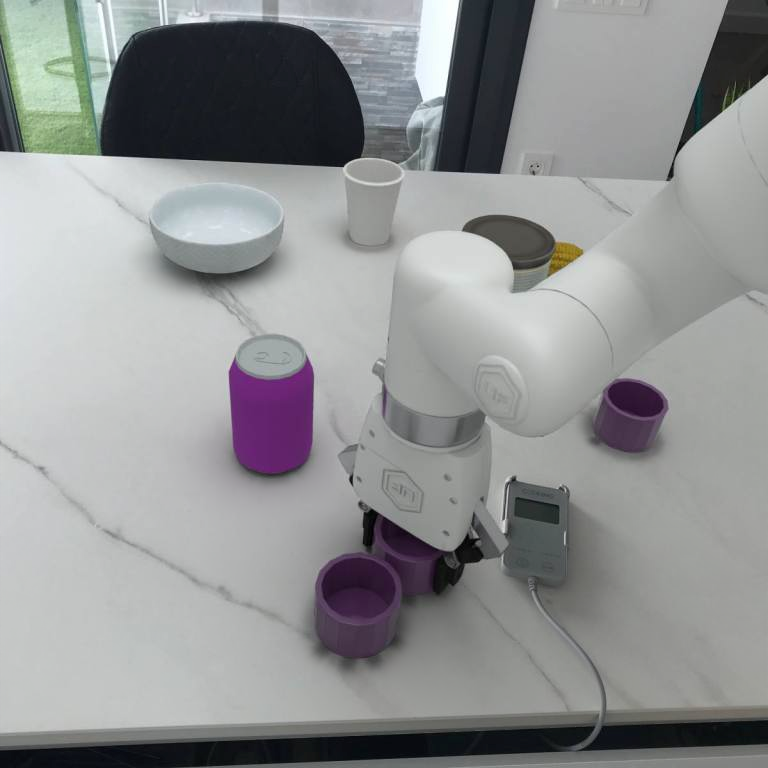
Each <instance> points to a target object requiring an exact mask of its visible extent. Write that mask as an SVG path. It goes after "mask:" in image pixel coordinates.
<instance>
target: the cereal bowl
mask: <svg viewBox="0 0 768 768" xmlns="http://www.w3.org/2000/svg"><path fill="white" fill-rule="evenodd" d="M148 221H149V222H148V223H149V226H150V227H149V228H150V231H151V235H152V238H153V240H154V242H155V244H156V246H157V248H158V249H159V250H160V252H162V253H163V255H164V256H165V257H166V258H168V259H169V260H171V261H172V262H174V263H175V264H177V265H179V266H180V267H184V268H185V269H189V270H192V271H195V272H200V273H206V274H207V273H208V274H220V275H221V274H231V273H238V272H242V271H245V270H248V269H252V268H253V267H256V266H258V265H260V264H261V263H263V262H265V261H266V260H267V259H268V258H269V257H271V256H272V255H273V253H275V251H276V250H277V248H278V247H279V245H280V243H281V240H282V238H283V233H284V227H285V210H284V208H283V206H282V205H281V203H280V202H279V201H278V200H277V199H276V198H275V197H274V196H272V195H271V194H270V193H267V192H265V191H263V190H260V189H258V188H255V187H252V186H249V185H244V184H239V183H233V182H232V183H231V182H217V181H216V182H200V183H193V184H188V185H185V186H180V187H177V188H174V189H172V190H170V191H168V192H166V193H164V194H162V195H161V196H159V197H158V198H156V200H154V202H153V203H152V204H151V206H150V208H149V211H148Z"/></svg>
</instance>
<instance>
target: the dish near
mask: <svg viewBox="0 0 768 768" xmlns="http://www.w3.org/2000/svg"><path fill="white" fill-rule="evenodd" d="M402 591H403V590H402V585H401V581H400V577H399V575H398V574H397V572H396V571H395V570H394V568H393V567H392V566H391V565H390V564H389V563H388V562H386V561H384V560H383V559H381V558H379V557H378V556H376V555H371V553H366V552H362V551H360V552H348V553H347V552H346V553H342V554H341V555H339V556H336V557H334V558H332V559H330V560H329V561H328V562H327V563H326V564H325V565H324V566H323V567H322V568H321V569H320V570H319V572H318V575H317V578H316V581H315V584H314V601H313V602H314V604H313V606H314V607H313V617H314V618H313V619H314V621H313V622H314V629H315V632H316V635H317V637H318V639H319V640H320V641H321V643H322V644H323V645H324V646H325V647H326V648H327V649H329V650H330V651H331V652H333V653H334V654H337V655H339V656H341V657H345V658H348V659H349V658H350V659H363V658H369V657H371V656H374V655H376V654H379V653H380V652H382V651H383V650H385V648H387V647H388V646H389V644H390V643H391V642H392V641H393V639H394V637H395V635H396V632H397V627H398V622H399V616H400V611H401V603H402V598H403V597H402V596H403V594H402Z"/></svg>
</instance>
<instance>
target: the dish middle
mask: <svg viewBox="0 0 768 768" xmlns="http://www.w3.org/2000/svg"><path fill="white" fill-rule="evenodd" d="M370 554H371V555H376V556H378V557H379V558H381V559H383V560H384V561H386V562H388V563H389V564H390V565H391V566H392V567H393V568H394V570H395V571H396V572H397V574H398V575H399V577H400V581H401V585H402V590H403V591H402V595H405V596H420V595H421V596H422V595H425V594H428V593H430V592H432V591H434V589H432V588H433V583H434V577H435V572H436V567H437V563H438V561H439V560H440V559H441V557H442V556H443V553H442V550H440V549H437V548H435V547H433V546H431V545H429V544H428V543H426V542H424V541H422V540H421V539H419V538H418V537H416V536H414V535H413V534H411V533H410V532H408V531H406V530H405V529H403V528H402V527H400V526H398V525H397V524H395V523H394V522H392V521H391V520H389V519H387V518H386V517H384V516H383V515H381V514H380V513H379V514H378V516H377V519H376V522H375V526H374V533H373V543H372V546H371V553H370Z"/></svg>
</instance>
